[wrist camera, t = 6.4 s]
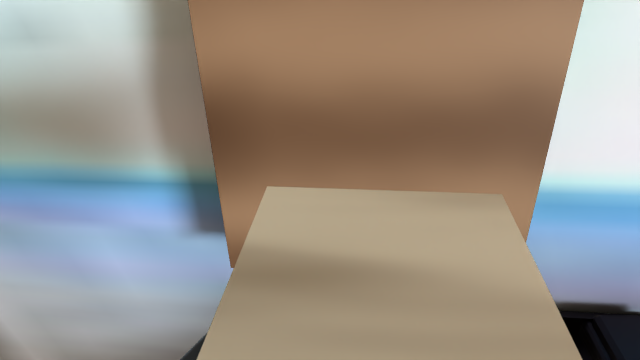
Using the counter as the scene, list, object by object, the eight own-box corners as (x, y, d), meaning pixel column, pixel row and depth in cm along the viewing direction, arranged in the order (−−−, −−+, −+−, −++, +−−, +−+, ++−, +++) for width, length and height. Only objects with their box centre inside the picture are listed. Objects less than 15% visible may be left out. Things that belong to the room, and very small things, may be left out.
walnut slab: (498, 236, 21) (516, 279, 18) (247, 227, 22) (230, 267, 20) (556, -53, 15) (595, -49, 13) (211, -44, 16) (181, -38, 14)
